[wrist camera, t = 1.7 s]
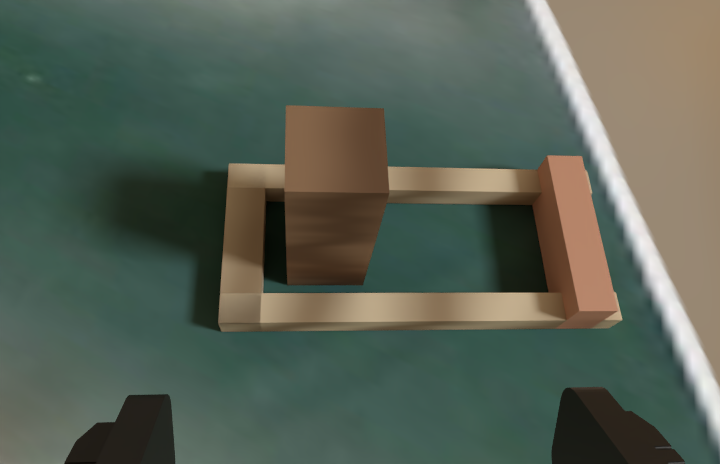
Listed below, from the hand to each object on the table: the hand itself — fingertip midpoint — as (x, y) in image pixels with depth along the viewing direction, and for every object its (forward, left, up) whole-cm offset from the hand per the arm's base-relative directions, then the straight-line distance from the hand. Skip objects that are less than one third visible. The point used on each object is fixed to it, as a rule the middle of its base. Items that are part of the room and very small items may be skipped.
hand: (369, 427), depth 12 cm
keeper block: (0, +11, -17) cm, 21 cm away
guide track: (+5, +11, -17) cm, 21 cm away
